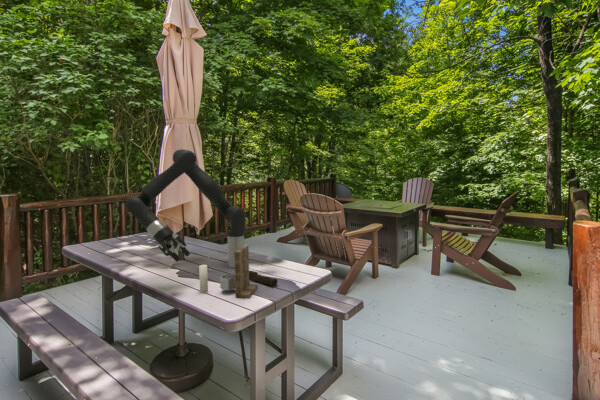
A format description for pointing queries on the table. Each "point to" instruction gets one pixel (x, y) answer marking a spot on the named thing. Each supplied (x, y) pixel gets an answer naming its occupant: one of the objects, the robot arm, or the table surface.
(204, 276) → the cream white cylinder
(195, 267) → the table surface
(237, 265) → the wooden bookend
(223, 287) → the metal cup
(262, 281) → the hand tool
